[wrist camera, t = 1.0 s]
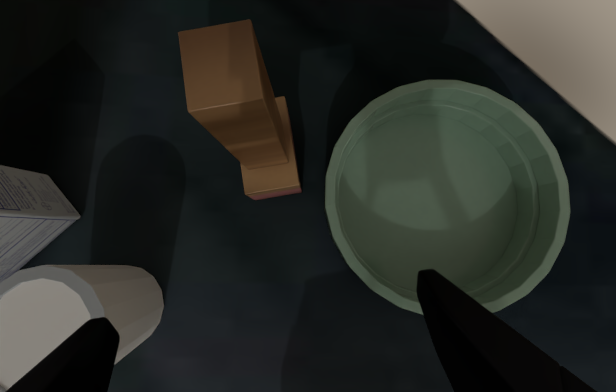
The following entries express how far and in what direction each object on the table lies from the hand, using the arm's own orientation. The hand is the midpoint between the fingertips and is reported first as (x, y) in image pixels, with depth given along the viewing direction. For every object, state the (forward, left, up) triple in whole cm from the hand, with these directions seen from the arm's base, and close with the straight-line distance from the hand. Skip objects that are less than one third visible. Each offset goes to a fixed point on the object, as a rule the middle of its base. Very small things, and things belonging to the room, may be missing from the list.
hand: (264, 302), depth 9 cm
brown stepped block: (+8, +2, -13) cm, 15 cm away
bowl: (+5, -9, -13) cm, 17 cm away
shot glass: (-3, +12, -13) cm, 18 cm away
